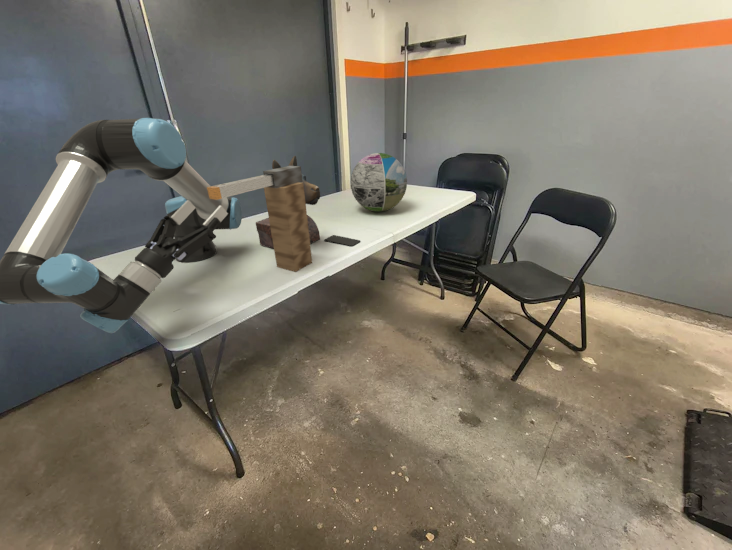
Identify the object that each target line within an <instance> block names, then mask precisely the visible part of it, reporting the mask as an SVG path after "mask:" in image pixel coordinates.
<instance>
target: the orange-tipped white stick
mask: <svg viewBox="0 0 732 550" xmlns="http://www.w3.org/2000/svg"><path fill="white" fill-rule="evenodd" d="M272 185H275V184H274V177H273V174H265V175H264V174H262V175H257V176H256V175H255V176H252V177H248V178H242V179H238V180H233V181H230V182H225V183H221V184H215V185H212V186H211V185H210V187H207V190H208V194H209V198H210V199H215V200H218V199H222V198H226V197H228V198H231V197H233V196H237V195H241V194H244V193H248V192H251V191H256V190H259V189H260V190H261V189H264V188H265V187H268V186H272Z"/></svg>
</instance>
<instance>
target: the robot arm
mask: <svg viewBox="0 0 732 550" xmlns="http://www.w3.org/2000/svg"><path fill="white" fill-rule="evenodd" d="M182 139H183V137H182V135H181V133H180V132H179V131H178V129H177V128H176V127H175V126H174V125H173V124H171V123H170V122H168V121H166V120H164V119H162V118H152V117H141V118H124V119H122V118H121V119H99V120H95V121H92V122H90V123H88V124H86V125H83V126H82V127H81V128H79V129H78V130H77V131H76V132H75V133H73V134H72V135H71V137H69V138H68V139H67V141H65V142H64V144H63V145H62V147H61V149H60V150H59V151H58V152H57V154H56V156H55V162H56V164H57V166H56V167H55V169H54V171H53V172H52V174H51V175H50V178H48V179H49V180H48V181H47V182H46V184H45V186H44V188H43V189H42V191H41V192H40V194H39V196H38V198H37V199H36V201H35V202H34V204H33V206H32V207H31V209H30V210H29V213H28V214H27V216H26V218H25V219H24V221H23V222H22V223H21V226H20V227H19V229H18V231H17V232H16V234H15V235H14V237H13V238H12V240H11V243H10V244H9V246H8V247H7V249H6V250H5V252H4V254H3V256H2V257H1V259H0V305H9V306H12V305H13V306H14V305H16V304H18V305H19V304H61V303H62V304H65V303H68V304H69V303H71V304H74V305H76V306H78V307H81V308H82V309H83V311H82V312H81V313H80V316H79V317H80V319H82V320H83V321H84V322H86V323H88V324H90V325H92V326H94V327H95V328H97V329H99V330H101V331H104V332H106V333H109V334H113V333H117V331H118V330H120V329H121V327H122V326H124V325H125V324H126V322H128V321H129V320H130V319H131V317H132V316H133V314H135V313H136V311H137V310H139V308H140V307H141V305H142V304H144V302H145V301H146V299H148V297H150V295H151V293H153V292H154V291H155V290H156V288H157V287H158V286H159V285H160V284H161V283H162V279H164V278H166V277H167V276H168V275H169V274H170V273H171V272H172V271H173V269H174V268H175V267H174V266H175V265H174V264H173V262H174V261H175V260H176V261H178V262H179V263H193V262H199V261H203V260H206V259H207V260H208V259H209V258H211V257H214V256H215V255H216V254H217V252H218V249H217V246H216V244H215V242H214V241H213V240H215V239H216V238H217V235H216V234H215V233H214V230H229V231H231V230H236V229H238V228H239V227H240V226H241V223H242V219H243V214H242V213H243V211H242V205H241V201H240V200H239V199H238V198H237V197H233V196H231V197H226V198H222V199H218V200H215V199H210V198H209V194H208V190H207V187H210V186H211V184H209V183H208V182H207V180H205V179H204V178H203V176H202V175H200V174H199V173H198V172H197V171H196V170H195V169H194V168H193V166H191V165H190V163H188V162H187V160H186V158H187V148H186V144H185V142H184V141H183V140H182ZM117 170H139V171H141V172H142V173H144V175H146V176H148V177H149V178H151V179H152V180H154V181H158V182H160V181H161V182H164V183H165V184H167V185H168V186H169V187H170V188H171V189H173V191H175V192H177V193H178V194H179V195H180V196H177V197H173V198H170V199H168V200H166V201H165V203H164V208H165V211H166V215H165V216H164V217H163V218H162V219H160V221H159V223H158V224H157V226H156V228H155V230H154V232H153V233H152V234H151V236H150V237H151V238H149V240H148V241H147V242H146V244H145V245H144V247H145V248H143V249H142V250H141V251H139V253H138V254H137V255H136V256H135V257H134V261H130V262H129V263H128V264H127V265H126V266H125V267H124V268H123V269H122V271H120V272H119V273H118V275H117V276H115V277H114V278H111V277H110V276H109V275H107V274H106V273H105V272H103V271H102V270H101V269H99V268H98V267H97V266H95V264H93V263H91V262H89V261H88V260H86V259H83V258H82V257H80V256H79V255H77V254H74V253H63V251H64V249H65V247H66V245H67V243H68V241H69V239H70V237H71V235H72V234H73V231H74V229H75V228H76V225H77V224H78V221H79V220H80V218H81V216H82V214H83V212H84V210H85V209H86V206H87V204H88V203H89V200H90V198H91V196H92V194H93V192H94V190H95V189H96V187H97V184H99V183H103V182H105V181H106V178H107V177H108V175H109V174H110V173H112V172H114V171H117Z"/></svg>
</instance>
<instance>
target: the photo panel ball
mask: <svg viewBox="0 0 732 550" xmlns="http://www.w3.org/2000/svg"><path fill="white" fill-rule="evenodd" d="M407 186H408V176H407V173H406V170H405V168H404V166H403V165H402V163H401V162H400V161H399V160H398V159H397V158H396V157H394V156H393V155H390V154H388V153H384V152H383V153H382V152H376V153H371V154H368V155H365V156H364V157H363V158H362V159H360V160H359V161H358V162H357V164H355V166H354V168H353V171H352V173H351V176H350V190H351V192H352V195H353V197H354V199H355V201H357V203H358V204H359V205H360V206H361V207H362V208H364V209H366V210H368V211H372V212H377V213H378V212H385V211H388V210H389V211H390V210H391V209H393V208H394V207H396V206H397V205H398V204H399V203H400V202H401V201H402V200H403V198H404V196H405V194H406V191H407Z"/></svg>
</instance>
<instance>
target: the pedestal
mask: <svg viewBox="0 0 732 550" xmlns="http://www.w3.org/2000/svg"><path fill="white" fill-rule="evenodd" d="M262 172H263V173H262V175H265V174H273V177H274V184H275V185H272V186H268V187H265V188H263V190H264V196H265V203H266V209H267V215H268V216H267V217H268V218H269V222H270V228H271V234H272V240H273V246H274V248H273V251H274V256H275V262H276V267H277V268H280V269H283V270H286V271H287V270H288V271H290V272H295V273H297V272H298V271H300V270H302V269H304V268H305V267H307V266H309V265H311V264H313V257H312V249H311V244H310V238H309V229H308V220H307V215H308V213H307V204H306V203H305V194H304V185H303V183H300V182H302V174H303V173H302V166H299V165H297V166H289V165H288V166H283V167H282V166H281V168H277V169H267V170H262Z"/></svg>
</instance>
